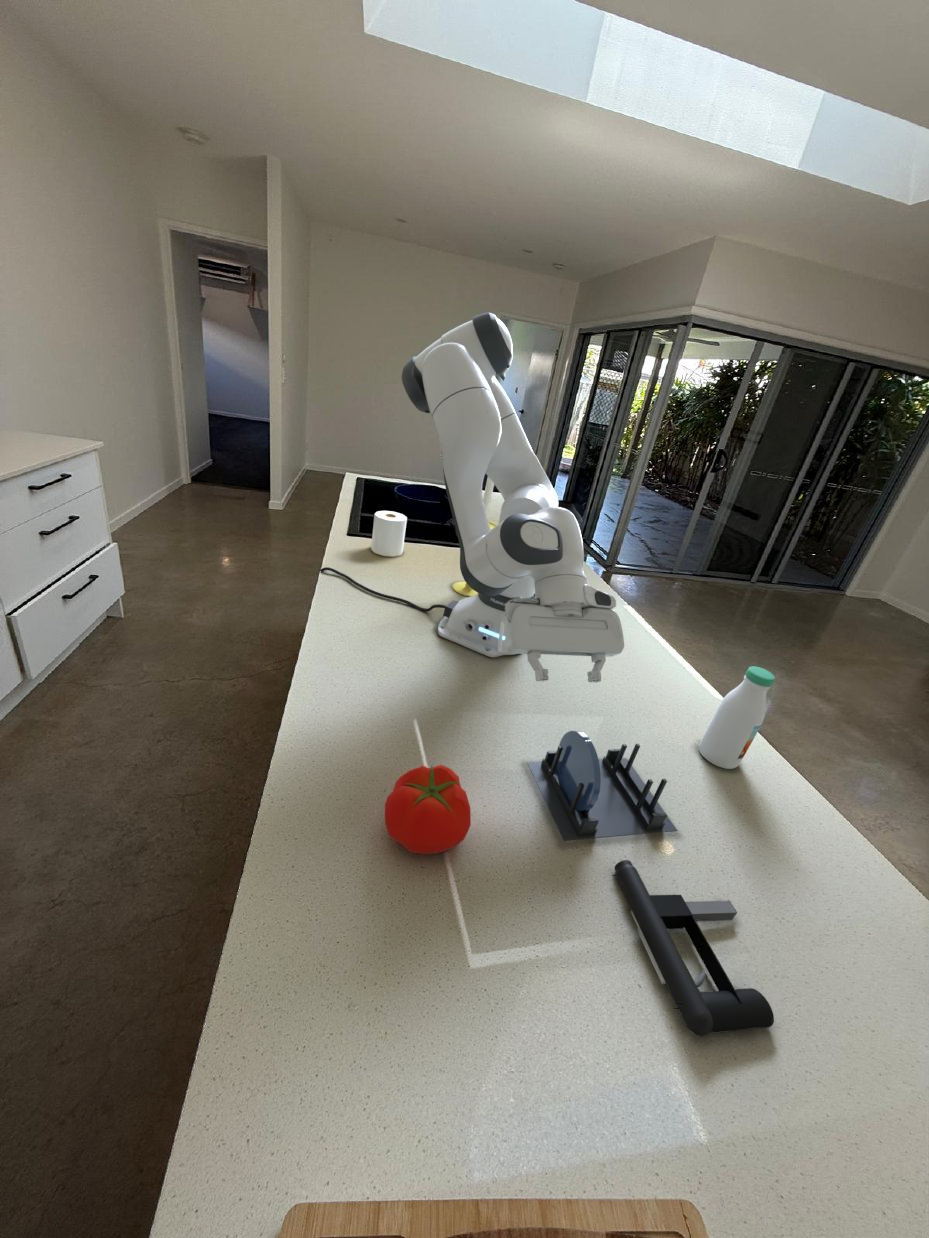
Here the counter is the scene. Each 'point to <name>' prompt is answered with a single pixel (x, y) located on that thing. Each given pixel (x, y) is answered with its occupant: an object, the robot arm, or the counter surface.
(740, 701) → the milk bottle
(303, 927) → the counter surface
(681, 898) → the door handle
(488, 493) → the candle
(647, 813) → the rack
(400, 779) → the tomato
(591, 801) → the plate
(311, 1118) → the counter surface
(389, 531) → the toilet paper
